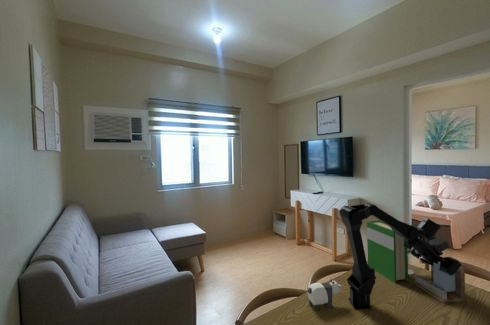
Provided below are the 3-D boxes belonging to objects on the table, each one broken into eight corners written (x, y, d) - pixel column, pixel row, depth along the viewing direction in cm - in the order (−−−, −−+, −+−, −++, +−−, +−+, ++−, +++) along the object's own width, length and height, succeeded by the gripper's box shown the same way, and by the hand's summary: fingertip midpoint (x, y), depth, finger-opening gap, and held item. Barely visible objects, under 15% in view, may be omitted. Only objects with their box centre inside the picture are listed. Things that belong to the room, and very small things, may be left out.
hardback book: (408, 280, 114) (407, 229, 113) (394, 283, 112) (393, 231, 112) (380, 264, 131) (379, 220, 130) (368, 266, 130) (366, 221, 129)
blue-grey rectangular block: (444, 292, 99) (444, 266, 98) (433, 285, 104) (433, 261, 103) (455, 290, 99) (455, 265, 99) (444, 284, 104) (444, 260, 104)
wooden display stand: (442, 302, 97) (442, 270, 96) (414, 284, 110) (414, 256, 110) (465, 300, 97) (464, 268, 97) (434, 282, 111) (434, 254, 111)
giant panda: (312, 311, 94) (311, 287, 94) (305, 303, 100) (304, 280, 99) (346, 305, 97) (345, 282, 97) (338, 298, 103) (337, 275, 102)
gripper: (456, 239, 91) (483, 266, 92) (416, 225, 110) (439, 248, 111) (437, 262, 91) (464, 288, 92) (400, 244, 109) (423, 266, 110)
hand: (447, 271), depth 101 cm, fingers closed on blue-grey rectangular block, 5 cm apart
